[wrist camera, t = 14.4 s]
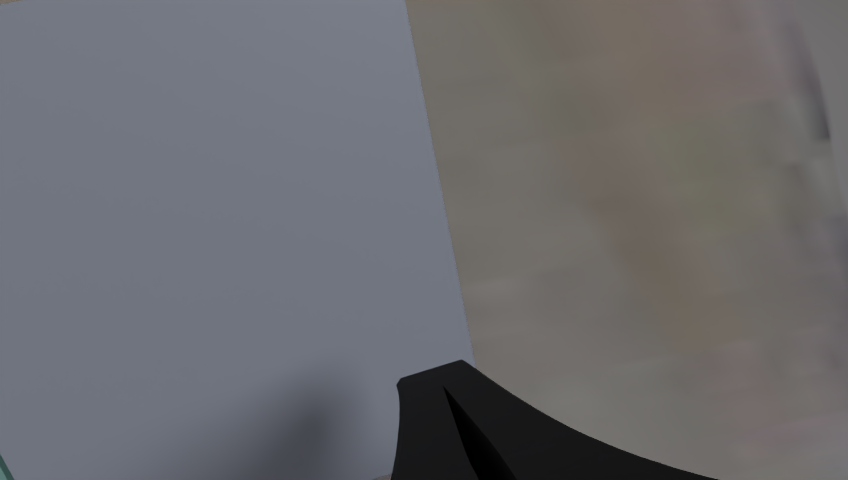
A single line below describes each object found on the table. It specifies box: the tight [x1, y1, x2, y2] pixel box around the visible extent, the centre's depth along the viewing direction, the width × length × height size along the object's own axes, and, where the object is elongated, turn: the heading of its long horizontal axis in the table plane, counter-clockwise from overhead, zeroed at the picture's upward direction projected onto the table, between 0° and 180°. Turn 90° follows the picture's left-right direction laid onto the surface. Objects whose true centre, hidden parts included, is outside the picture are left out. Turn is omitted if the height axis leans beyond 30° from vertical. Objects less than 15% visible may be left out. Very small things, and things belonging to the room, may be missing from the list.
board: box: [0, 0, 476, 480], centre depth 17 cm, size 15×13×4 cm
